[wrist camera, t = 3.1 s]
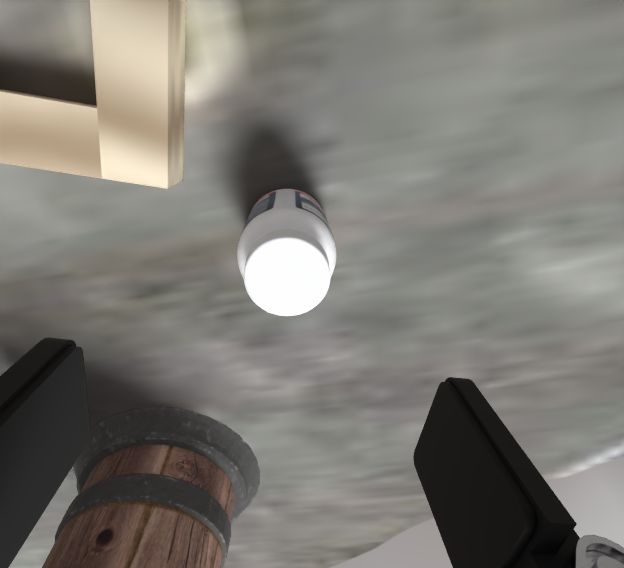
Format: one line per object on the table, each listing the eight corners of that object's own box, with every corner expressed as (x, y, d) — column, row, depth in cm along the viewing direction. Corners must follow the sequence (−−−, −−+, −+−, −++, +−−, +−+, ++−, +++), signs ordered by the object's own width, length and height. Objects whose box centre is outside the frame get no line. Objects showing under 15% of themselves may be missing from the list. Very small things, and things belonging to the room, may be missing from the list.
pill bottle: (252, 264, 25) (233, 331, 17) (244, 189, 23) (219, 225, 15) (327, 261, 26) (343, 325, 18) (326, 186, 23) (344, 220, 15)
